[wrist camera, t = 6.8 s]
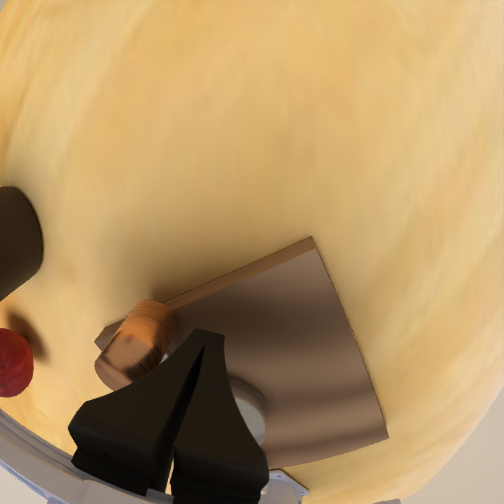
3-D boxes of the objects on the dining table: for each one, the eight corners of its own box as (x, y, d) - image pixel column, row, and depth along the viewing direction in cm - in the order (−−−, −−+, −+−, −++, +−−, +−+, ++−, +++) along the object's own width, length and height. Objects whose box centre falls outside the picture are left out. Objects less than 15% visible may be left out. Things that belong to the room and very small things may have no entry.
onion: (13, 300, 17) (-46, 353, 9) (56, 351, 18) (6, 416, 11) (2, 326, 18) (-44, 373, 11) (39, 369, 20) (-1, 423, 13)
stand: (385, 424, 18) (396, 467, 14) (238, 460, 22) (233, 499, 18) (311, 236, 13) (327, 282, 9) (104, 328, 16) (70, 372, 12)
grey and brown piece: (280, 423, 16) (278, 478, 12) (200, 433, 17) (189, 480, 13) (193, 282, 12) (161, 343, 8) (102, 314, 14) (62, 363, 10)
